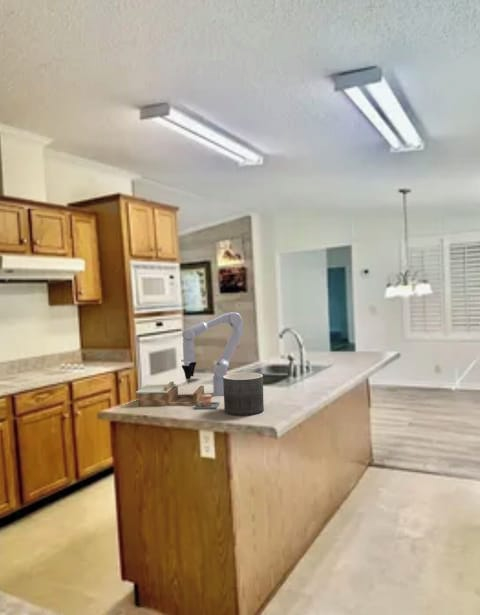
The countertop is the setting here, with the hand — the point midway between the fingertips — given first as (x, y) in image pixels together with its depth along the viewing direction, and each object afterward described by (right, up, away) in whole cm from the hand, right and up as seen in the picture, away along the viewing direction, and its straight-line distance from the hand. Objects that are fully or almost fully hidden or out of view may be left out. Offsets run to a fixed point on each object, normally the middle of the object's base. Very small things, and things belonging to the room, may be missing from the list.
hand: (189, 377), depth 253 cm
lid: (-16, -4, -9) cm, 19 cm away
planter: (+28, -10, -33) cm, 44 cm away
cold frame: (-8, -10, -10) cm, 16 cm away
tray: (+11, -10, -24) cm, 28 cm away
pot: (+10, -10, -24) cm, 28 cm away
